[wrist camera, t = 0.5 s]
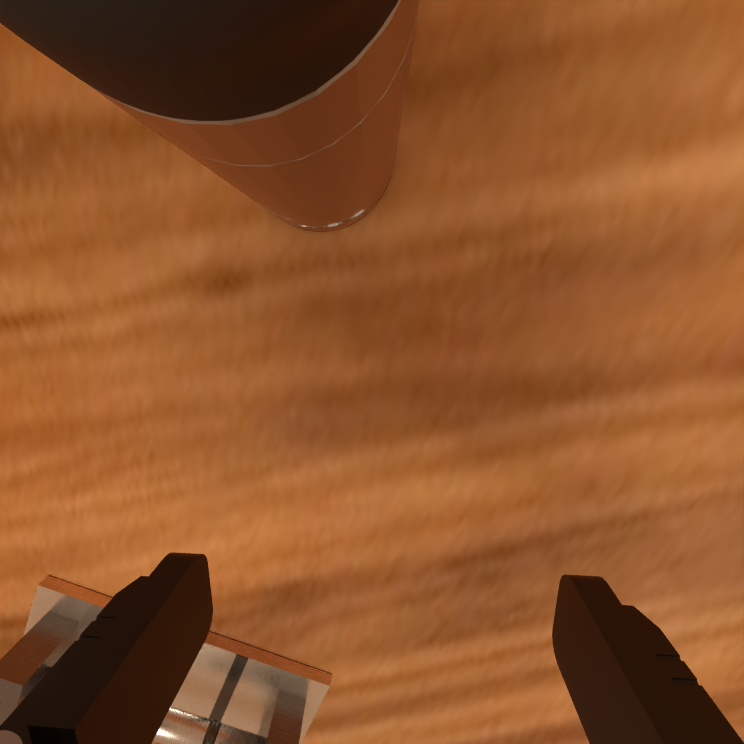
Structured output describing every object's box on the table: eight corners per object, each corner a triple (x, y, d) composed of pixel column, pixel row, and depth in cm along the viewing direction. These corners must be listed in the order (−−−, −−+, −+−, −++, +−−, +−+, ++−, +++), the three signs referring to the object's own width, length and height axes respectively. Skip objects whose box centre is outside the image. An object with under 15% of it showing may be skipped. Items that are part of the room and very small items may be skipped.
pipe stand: (23, 660, 33) (-53, 743, 27) (48, 575, 31) (-29, 643, 25) (293, 749, 35) (276, 844, 29) (331, 674, 33) (321, 759, 27)
